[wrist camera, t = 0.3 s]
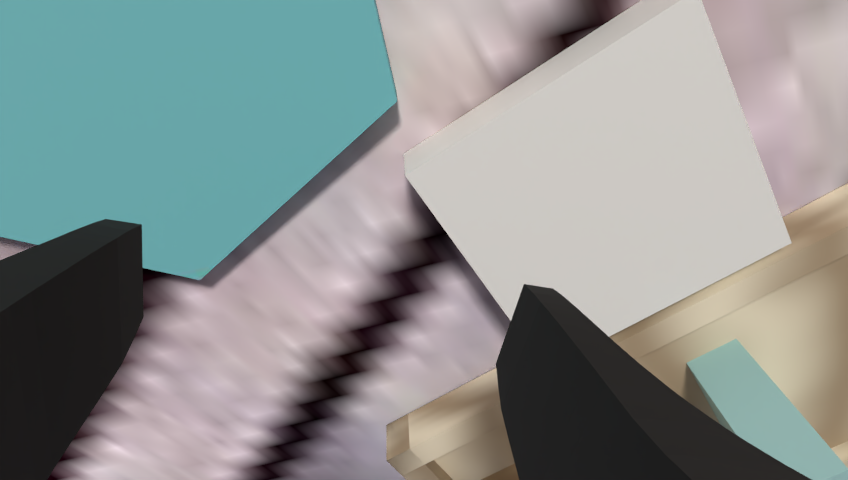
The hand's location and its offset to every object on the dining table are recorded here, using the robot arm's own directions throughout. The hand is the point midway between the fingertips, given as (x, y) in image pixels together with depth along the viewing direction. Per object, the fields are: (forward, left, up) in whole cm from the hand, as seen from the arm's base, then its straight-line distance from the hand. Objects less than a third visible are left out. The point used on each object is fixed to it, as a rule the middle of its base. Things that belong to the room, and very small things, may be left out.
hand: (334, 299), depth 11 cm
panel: (-12, -16, -9) cm, 22 cm away
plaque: (+5, +8, -11) cm, 14 cm away
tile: (-2, -9, -10) cm, 13 cm away
